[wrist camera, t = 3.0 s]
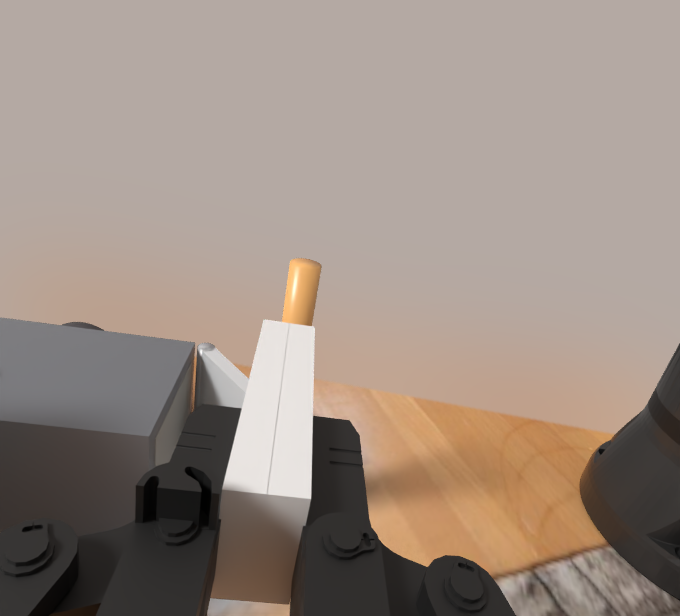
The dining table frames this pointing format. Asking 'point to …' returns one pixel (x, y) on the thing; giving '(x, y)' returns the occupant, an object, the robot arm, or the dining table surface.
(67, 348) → the box
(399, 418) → the dining table surface
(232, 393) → the side door
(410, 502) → the dining table surface
